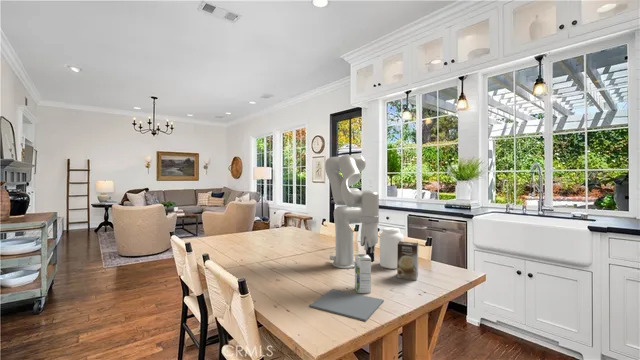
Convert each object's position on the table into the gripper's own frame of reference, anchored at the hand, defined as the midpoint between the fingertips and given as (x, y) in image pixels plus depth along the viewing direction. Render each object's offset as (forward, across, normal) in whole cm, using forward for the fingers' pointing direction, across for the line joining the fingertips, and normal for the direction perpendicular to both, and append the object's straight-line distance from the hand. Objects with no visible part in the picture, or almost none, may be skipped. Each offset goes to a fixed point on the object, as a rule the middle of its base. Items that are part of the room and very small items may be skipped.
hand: (370, 261), depth 130 cm
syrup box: (+10, +8, 0) cm, 13 cm away
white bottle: (+10, -32, 0) cm, 33 cm away
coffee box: (+10, -18, +12) cm, 24 cm away
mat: (+10, +23, 0) cm, 26 cm away
